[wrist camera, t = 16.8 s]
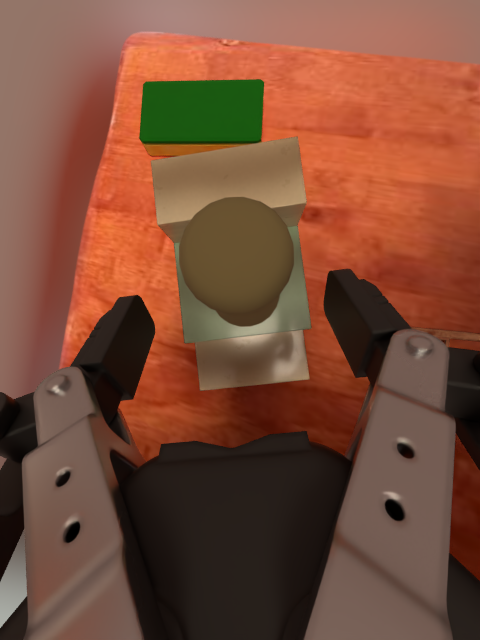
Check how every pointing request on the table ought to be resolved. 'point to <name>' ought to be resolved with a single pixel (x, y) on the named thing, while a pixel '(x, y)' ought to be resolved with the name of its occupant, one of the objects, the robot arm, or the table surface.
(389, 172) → the table surface
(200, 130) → the dish sponge
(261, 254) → the brown pawn figure
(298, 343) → the stepped block
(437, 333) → the key
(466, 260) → the table surface
